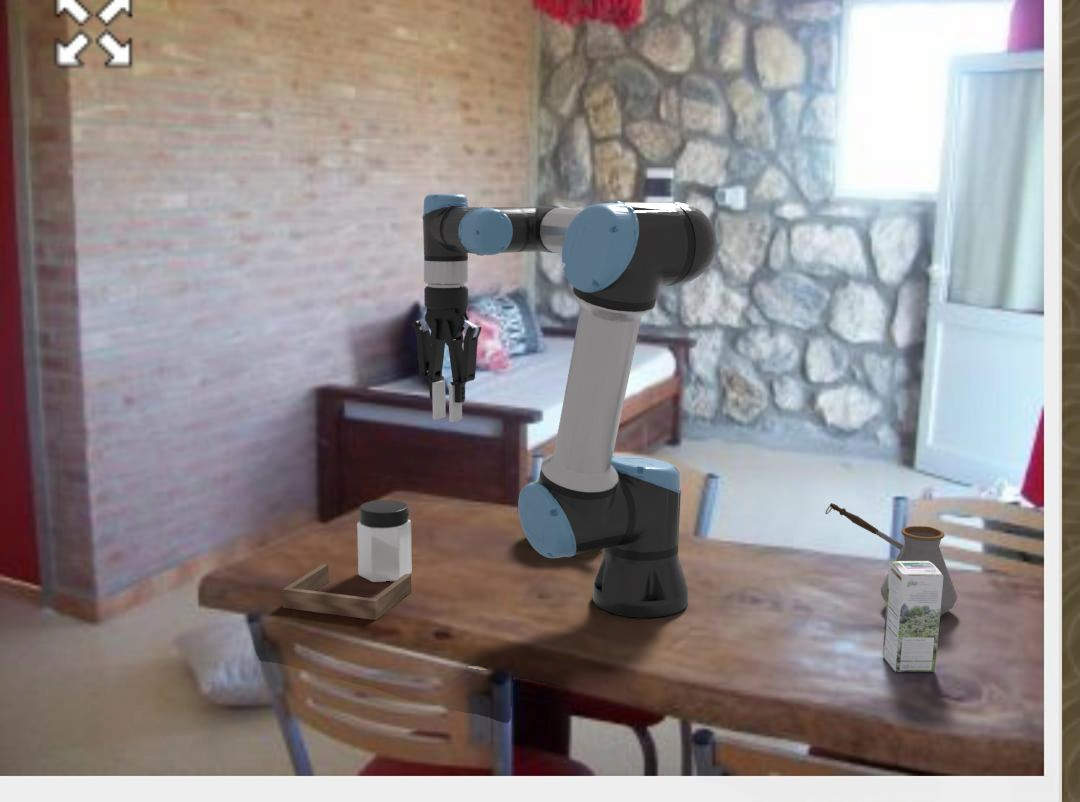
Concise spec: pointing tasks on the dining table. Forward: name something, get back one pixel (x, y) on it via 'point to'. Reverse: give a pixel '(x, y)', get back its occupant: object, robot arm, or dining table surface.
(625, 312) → the robot arm
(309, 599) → the box
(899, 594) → the syrup box
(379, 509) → the jar
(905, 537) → the coffee pot
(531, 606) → the dining table surface
